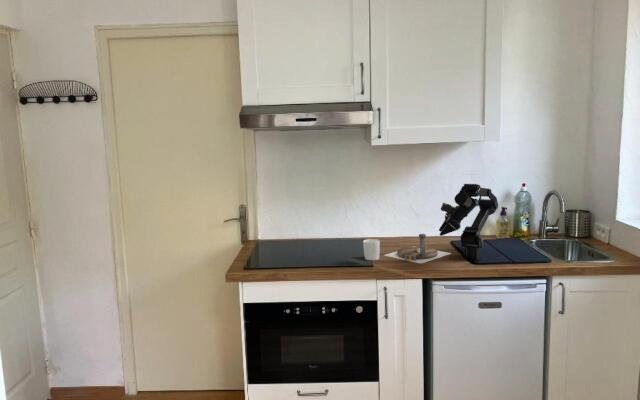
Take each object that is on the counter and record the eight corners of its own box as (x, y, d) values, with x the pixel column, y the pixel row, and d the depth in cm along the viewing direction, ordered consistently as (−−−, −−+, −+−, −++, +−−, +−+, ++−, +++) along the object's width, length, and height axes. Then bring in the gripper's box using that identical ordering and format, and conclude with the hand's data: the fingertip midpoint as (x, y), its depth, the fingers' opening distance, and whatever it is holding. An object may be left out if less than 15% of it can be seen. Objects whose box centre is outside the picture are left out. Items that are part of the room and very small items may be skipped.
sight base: (451, 256, 242) (451, 248, 242) (421, 266, 228) (420, 258, 227) (414, 249, 260) (414, 242, 259) (383, 258, 245) (383, 250, 245)
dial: (445, 253, 242) (445, 230, 240) (420, 261, 230) (419, 237, 228) (414, 247, 257) (414, 225, 255) (389, 254, 245) (388, 232, 243)
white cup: (381, 259, 244) (380, 238, 242) (379, 263, 236) (378, 242, 235) (364, 259, 245) (364, 239, 244) (362, 263, 238) (362, 242, 236)
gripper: (450, 193, 238) (426, 217, 242) (452, 200, 220) (427, 225, 224) (467, 209, 238) (443, 233, 241) (471, 217, 220) (445, 242, 223)
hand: (439, 232), depth 233 cm, fingers open, 9 cm apart
